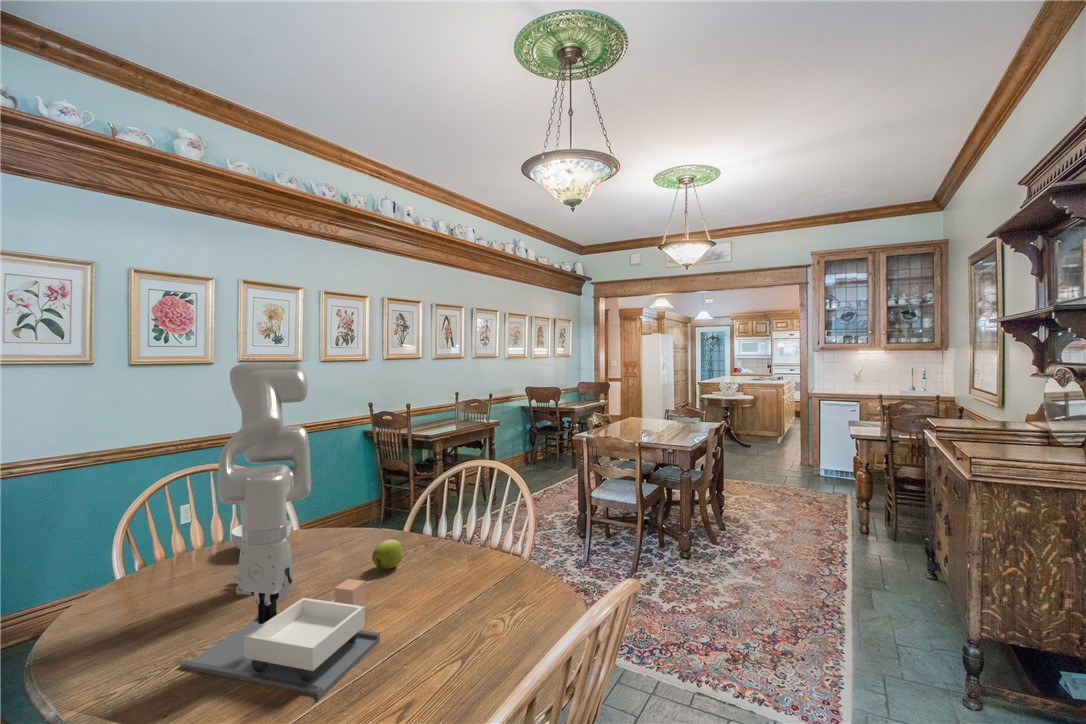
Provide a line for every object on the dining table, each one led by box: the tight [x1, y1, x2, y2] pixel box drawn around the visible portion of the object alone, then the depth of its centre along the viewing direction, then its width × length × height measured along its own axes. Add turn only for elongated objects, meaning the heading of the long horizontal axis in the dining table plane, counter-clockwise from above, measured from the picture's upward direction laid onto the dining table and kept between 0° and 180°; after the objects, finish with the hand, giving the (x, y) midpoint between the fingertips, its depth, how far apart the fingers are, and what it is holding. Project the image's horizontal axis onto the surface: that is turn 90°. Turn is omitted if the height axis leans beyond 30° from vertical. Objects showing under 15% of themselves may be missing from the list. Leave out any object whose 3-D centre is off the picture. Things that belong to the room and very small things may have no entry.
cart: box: [244, 597, 366, 682], centre depth 101 cm, size 16×16×7 cm
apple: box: [371, 538, 404, 570], centre depth 144 cm, size 8×9×8 cm
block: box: [334, 578, 367, 606], centre depth 121 cm, size 5×5×6 cm
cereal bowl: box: [230, 519, 293, 551], centre depth 160 cm, size 17×17×7 cm
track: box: [179, 614, 381, 701], centre depth 102 cm, size 32×19×2 cm, turn 75°
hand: (267, 620), depth 104 cm, fingers closed
